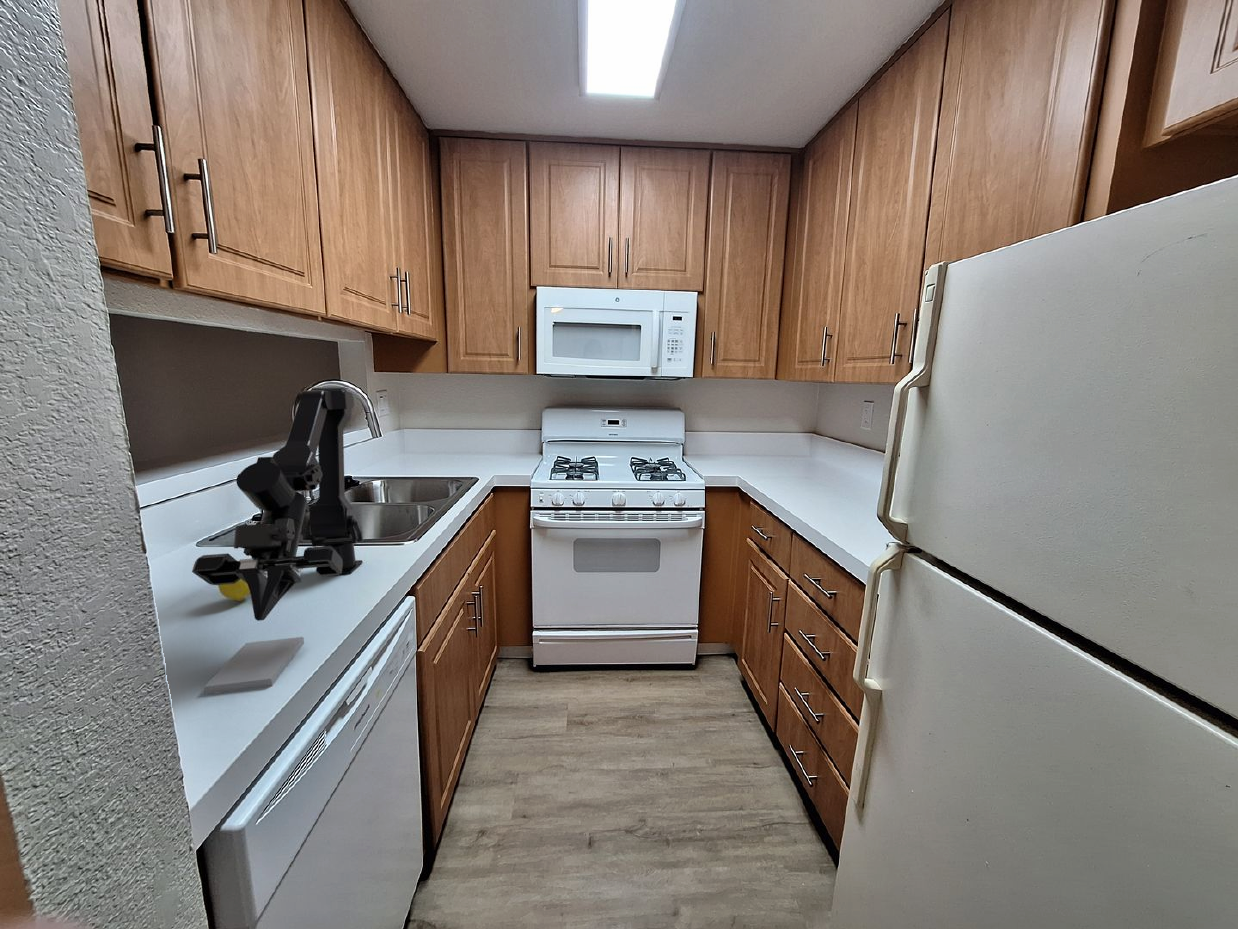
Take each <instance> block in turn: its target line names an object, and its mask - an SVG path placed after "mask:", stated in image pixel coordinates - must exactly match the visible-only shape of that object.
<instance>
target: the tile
mask: <svg viewBox="0 0 1238 929" xmlns="http://www.w3.org/2000/svg"><path fill="white" fill-rule="evenodd" d="M304 639H305V638H304V636H299V637H289V638H279V639H270V640H263V641H261V640H259V641H252V642H251V641H250V642H245V644H244V645H242V647H241V648H239V650H238V651H237V652H236V653H235V654H234V655H233V656H232V657H231V658H230V659H229V660H228V661H227V662H226V663H225V664H224V665H223V666H222V667H221V668H220V670H218V672H216V674H215V675H214V676H212V678H211V679H210V680H209V681H208V682H207V683H206V684H205V685H204V686H203V689H204V693H211V694H216V693H215V692H219V693H225V692H233V691H242V690H250V689H257V688H258V689H259V688H266V687H273V686H274V684H275V683H276V681H278V679H279V678H280V676H281V675H282V674H283V672H284V671H285V670H286V668H287V667H288V666H289V664H290V663H291V662H292V661H293V659H294V658H295V656H297V654H298V652H299V651H300V650H301V648H303V645H304V644H305V640H304Z"/></svg>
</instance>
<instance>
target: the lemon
mask: <svg viewBox="0 0 1238 929" xmlns="http://www.w3.org/2000/svg"><path fill="white" fill-rule="evenodd" d="M217 587H218V590H219V592H220V594H221V595H222V596H223V597H225V598H227V599H230V600H235V601H237V602H241V601H243V600H244V599H245V598H246V597H247V596H250V595H251V594H250V590H249V587H248V584H247V583H246V582H244V581H243V580H242V579H240V580H239V581H237V582H236V583H235V584H225V585H217Z"/></svg>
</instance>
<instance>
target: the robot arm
mask: <svg viewBox="0 0 1238 929" xmlns="http://www.w3.org/2000/svg"><path fill="white" fill-rule="evenodd" d="M354 406H355V399H354V395H353V393H352V392H349V391H348V390H347V388H346V387H343V386H342V387H341V386H340V387H338V386H337V387H335V386H334V387H331V386H330V387H312V388H311V389H310V390H302V391H300V392H298V394H297V409H296V410H295V414H294V416H293V417H294V418H293V420H292V423H291V428H290V431H289V434H288V437H287V440H286V443H285V445H284V446H283V447H282V448H280V449H278V450H277V451H275V452H274V454H273V455H272V456H260V457H257V460H256V462H254V463H252V464H250V465H248V466H246V467H245V468H244V469H242V471H240V473H238V475H237V476H236V481H235V482H236V485H237V487H238V488H239V490H240V491H241V492H242V493H243V494H244V495H245V497H246V498H248V500H249V501H250V502H251V503H252V504H253V505H254V506H255V507H256V509H259V510H261V511H263V514H262V517H261V520H260V522H257V523H255V524H247V525H245V524H244V525H236V526H235V529H234V540H233V541H234V542H233V549H243V554H244V555H245V556H246V557H249V556H250V557H251V558H242V559H239V560H237V559H236V558H235V557H233V556H232V555H231V554H230V553H217V554H216V553H215V554H203V555H201V556H199V557H198V558H197V559H196V560H195V561H194V564H193V567H192V571H191V573H193V574H195V575H196V576H198V577H199V579H201V580H203V581H205V582H206V583H207V584H209V585H211V586H218V585H225V584H235V583H236V582H237V581H239V580H240V579H242V580H243V581H244V582H246V583H247V584H248V587H249V590H250V594H249V595H250V598H251V605H252V610H253V616H254V619H255V621H257V622H260V621H264V620H265V619H266V618H267V617H268V616H269V614H270V613H272V610H274V608H275V607H276V605H277V604H278V603H279V601H280V600H281V599H282V598H283V597H284V596H285V595H286V594H287V593H288V592H289V591H290V590H291V589H292V588H293V586H294V585H296V584H299V583H302V581H303V578H302V577H301V575H302V574H301V573H302V570H304V569H310V568H311V569H312V568H316V569H315V571H316V573H317V574H318V575H320V576H321V577H328V576H339V575H344V574H345V575H348V574H352V572H354V571H355V570H356V569H357V568H358V567H359V566H360V565H361V564H363V560H362V559H361V560H360V559H359V560H357V559H356V551H355V544H358V542H361V541H363V540H364V536H363V535H364V534H363V533H364V532H363V526H362V525H361V524H360V522H359V520H358V518H357V517H356V516H355V514H354V513H355V510H354V507H353V506H352V504H351V503H350V502H349V500H348V499H347V497H346V495H345V492H346V491H345V454H344V453H345V452H344V429H345V428H346V426H347V425H348V423H349V422H350V421H351V419H352V410H353V408H354ZM317 451H318V452H317ZM317 453H318V455H317ZM316 456H318V458H317V457H316ZM317 488H318V498H317V499H316V501H315V503H314V504H312V505H311V504H310V507H309V505H308V500H307V498H306V497H304V495H303V494H302V493H300V492H311V491H314V490H316V489H317ZM306 513H308V515H309V519H308V520H307V534H308V535H309V539H310V542H311V547H306V548H305V549H304V551H303V555H298V556H297V552H298V549H299V544H300V543H301V544H302V543H303V540H304V536H303V535H302V529H303V524H304V520H305V516H306Z"/></svg>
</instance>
